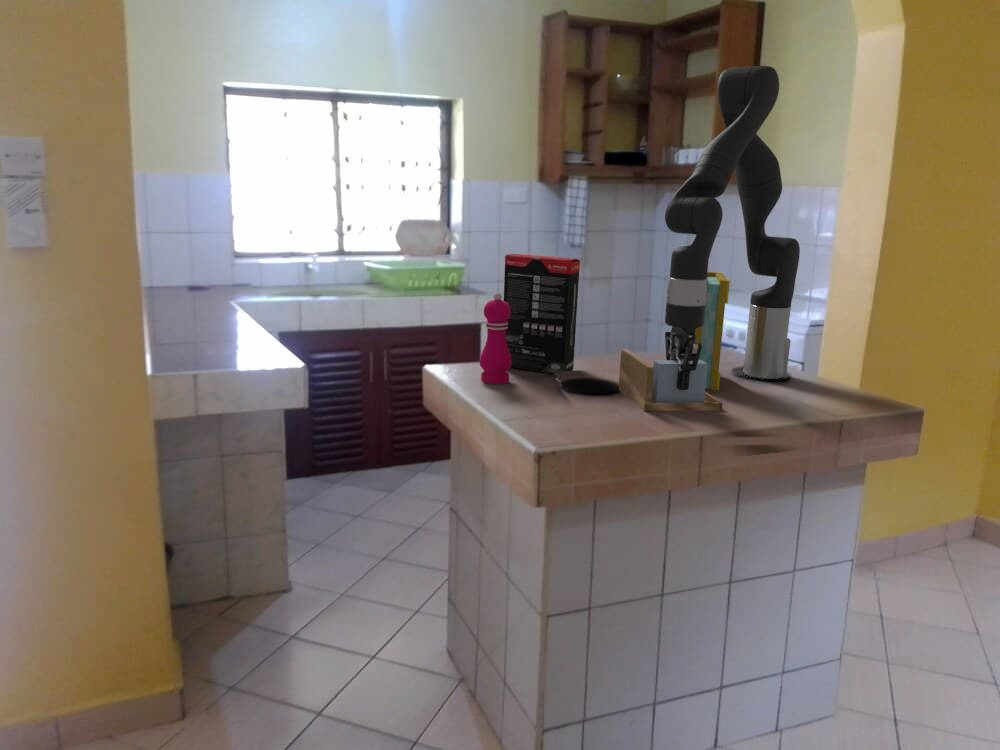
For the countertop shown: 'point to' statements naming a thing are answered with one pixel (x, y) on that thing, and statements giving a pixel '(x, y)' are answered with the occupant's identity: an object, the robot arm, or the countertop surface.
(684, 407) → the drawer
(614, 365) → the countertop surface
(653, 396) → the block
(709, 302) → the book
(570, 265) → the graphics card box
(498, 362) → the pepper mill
